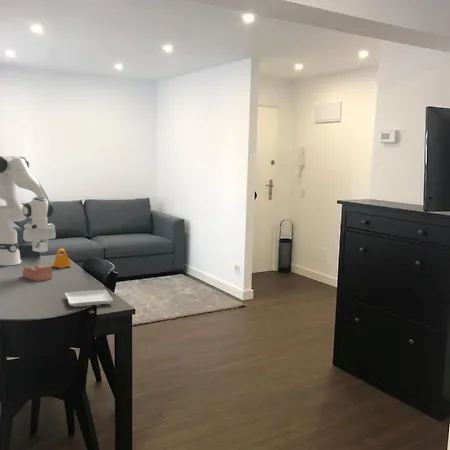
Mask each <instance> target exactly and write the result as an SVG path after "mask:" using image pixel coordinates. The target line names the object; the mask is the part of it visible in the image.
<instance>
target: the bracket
mask: <svg viewBox="0 0 450 450" xmlns="http://www.w3.org/2000/svg"><path fill="white" fill-rule="evenodd" d="M62 252H63V254H60V253H62ZM52 267H53V268H57V269H61V268H62V269H64V268H65V267H71V261H70V258H69V256H68V254H67V251H66V250H65V249H64V248H59V249H57V252H56V256H55V258H54V261H53V262H52ZM65 269H66V268H65Z"/></svg>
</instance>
